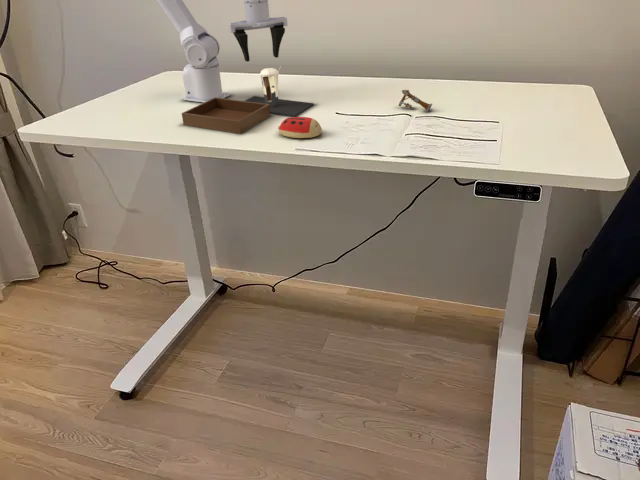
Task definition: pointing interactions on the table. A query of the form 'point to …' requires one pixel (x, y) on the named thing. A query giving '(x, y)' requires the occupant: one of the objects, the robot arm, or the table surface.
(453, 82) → the table surface
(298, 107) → the mouse pad
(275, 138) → the table surface
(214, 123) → the tray
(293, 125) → the ladybug figurine
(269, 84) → the milkshake
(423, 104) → the wooden post with brackets
